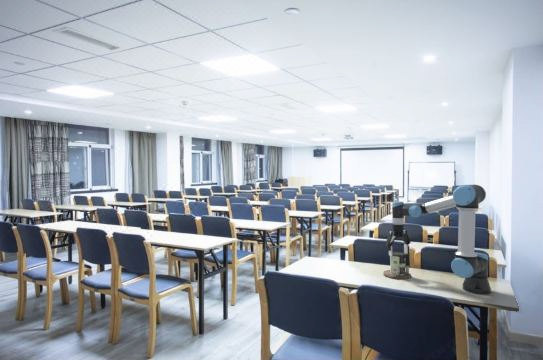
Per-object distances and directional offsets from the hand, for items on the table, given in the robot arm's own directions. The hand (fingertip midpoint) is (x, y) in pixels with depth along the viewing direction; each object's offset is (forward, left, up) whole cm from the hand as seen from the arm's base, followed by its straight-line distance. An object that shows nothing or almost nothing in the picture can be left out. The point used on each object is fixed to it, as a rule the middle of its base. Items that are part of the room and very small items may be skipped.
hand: (398, 254), depth 252 cm
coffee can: (0, 0, -14) cm, 14 cm away
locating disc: (+1, 0, -15) cm, 15 cm away
